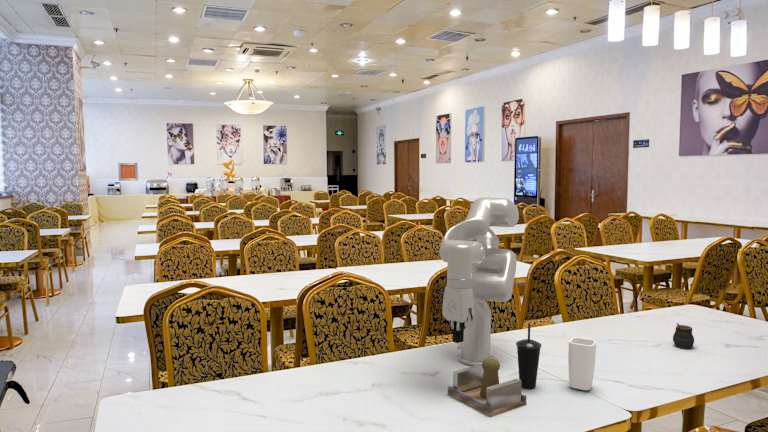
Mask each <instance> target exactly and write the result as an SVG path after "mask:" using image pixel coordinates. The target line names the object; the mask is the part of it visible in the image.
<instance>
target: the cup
mask: <svg viewBox="0 0 768 432" xmlns="http://www.w3.org/2000/svg"><path fill="white" fill-rule="evenodd" d="M596 351H597V341H596V340H594V339H591V338H586V337H579V336H574V337H571V339H569V340H568V359H567V360H568V379H569V381H568V382H569V387H571V388H572V389H574V390H578V391H583V392H588V391H590V390H591V388H592V386H593V381H594V376H595V375H594V374H595V366H596V354H597V353H596Z"/></svg>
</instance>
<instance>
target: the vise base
mask: <svg viewBox="0 0 768 432" xmlns="http://www.w3.org/2000/svg"><path fill="white" fill-rule="evenodd" d="M521 382H522V381H521V380H519V378H515V379H511V380H507V381H503V382H499V384H497V385H494V386H490V387H487V389H486V399H484V398H482V397H481V396H480V391H481V386H479V387H475V388H472V389H469V390H465V391H462V392H461V391H459V390H457V389H455V388H453V386H451V385H448V386H447V395H448V396H449V397H451V398H453V399H456V400H457V401H458V402H461V403H463V404H464V405H466V406H468V407H471V408H472V409H474V410H476V411H479V412H480V413H482V414H485V415H486V416H488V417H491V418H492V417H495V416H497V415H500V414H503V413H506V412H509V411H512V410H514V409H517V408H520V407H523V406H526V405H527V395H524V394H522V387H521Z"/></svg>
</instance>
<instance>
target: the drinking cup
mask: <svg viewBox="0 0 768 432" xmlns="http://www.w3.org/2000/svg"><path fill="white" fill-rule="evenodd" d="M527 326H528V327H527V338H525V339H524V338H523V339H521V340H518V341H516V343H515V345H516V349H517V351H516V352H517V353H516V354H517V366H518V367H517V368H518V377H519V378H518V380H521V381H522V382H521V389H524V390H534V389H535V388H536V385H537V378H538V369H539V361H540V354H541V348H542V343H540V342H538V341H536V340H534V339H531V323H527Z"/></svg>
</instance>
